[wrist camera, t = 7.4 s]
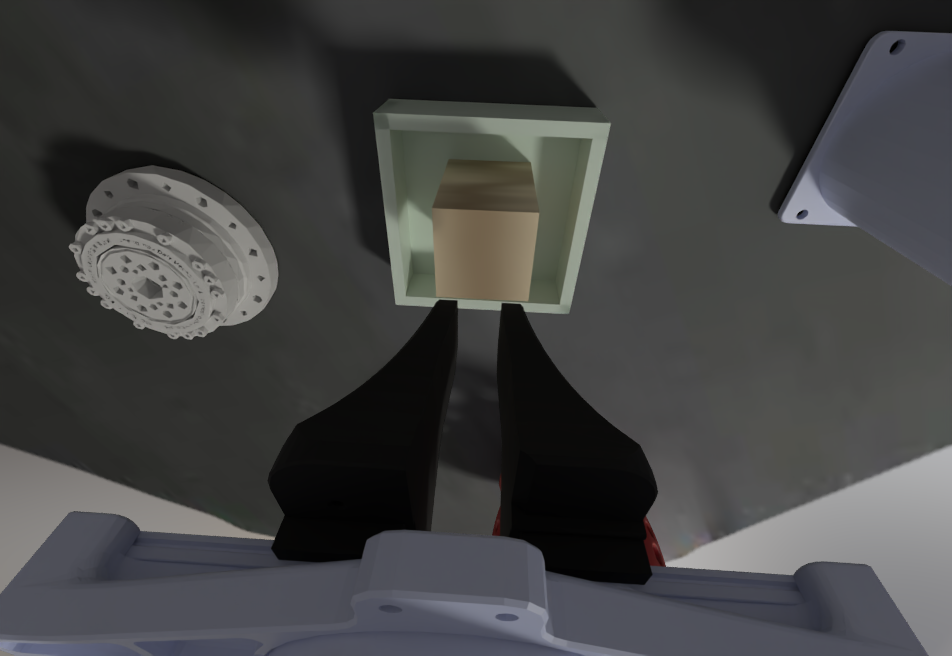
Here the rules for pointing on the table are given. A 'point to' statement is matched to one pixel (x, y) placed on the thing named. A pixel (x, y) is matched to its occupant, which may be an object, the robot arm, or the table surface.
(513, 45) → the table surface
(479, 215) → the brown block
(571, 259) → the tray
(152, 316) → the mechanical component
